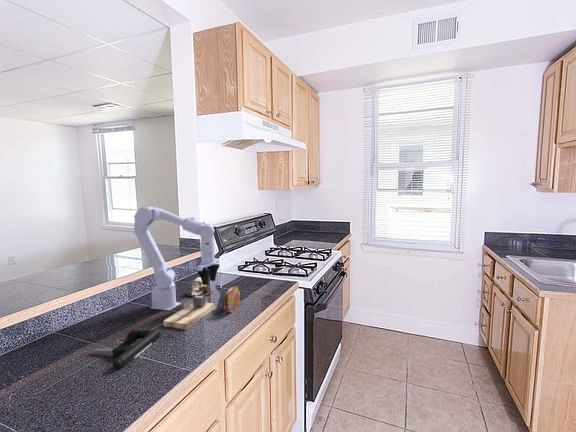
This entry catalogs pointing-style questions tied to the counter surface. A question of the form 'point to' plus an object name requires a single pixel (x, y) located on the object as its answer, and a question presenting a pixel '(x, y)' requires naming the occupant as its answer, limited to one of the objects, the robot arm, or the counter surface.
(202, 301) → the fader knob
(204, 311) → the slider board
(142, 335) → the door handle
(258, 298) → the counter surface
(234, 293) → the tin
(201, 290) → the skull
